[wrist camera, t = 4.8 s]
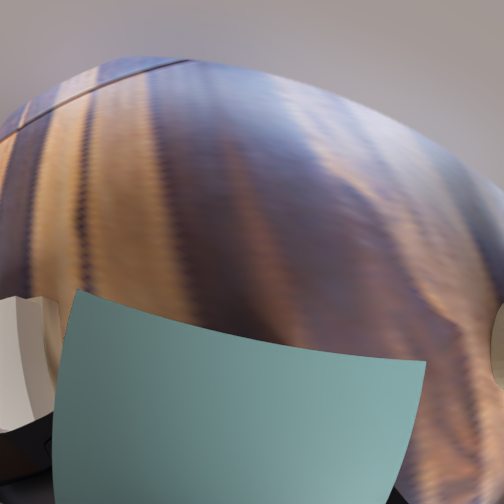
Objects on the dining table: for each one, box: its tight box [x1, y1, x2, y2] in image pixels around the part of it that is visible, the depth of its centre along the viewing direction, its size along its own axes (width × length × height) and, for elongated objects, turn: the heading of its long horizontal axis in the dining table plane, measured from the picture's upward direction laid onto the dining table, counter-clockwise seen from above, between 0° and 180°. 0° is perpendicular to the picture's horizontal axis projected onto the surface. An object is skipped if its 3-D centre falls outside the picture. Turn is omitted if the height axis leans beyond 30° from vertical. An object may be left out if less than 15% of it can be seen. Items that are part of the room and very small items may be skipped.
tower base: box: [26, 296, 63, 399], centre depth 12 cm, size 9×9×2 cm
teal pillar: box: [52, 289, 426, 504], centre depth 8 cm, size 6×6×12 cm
